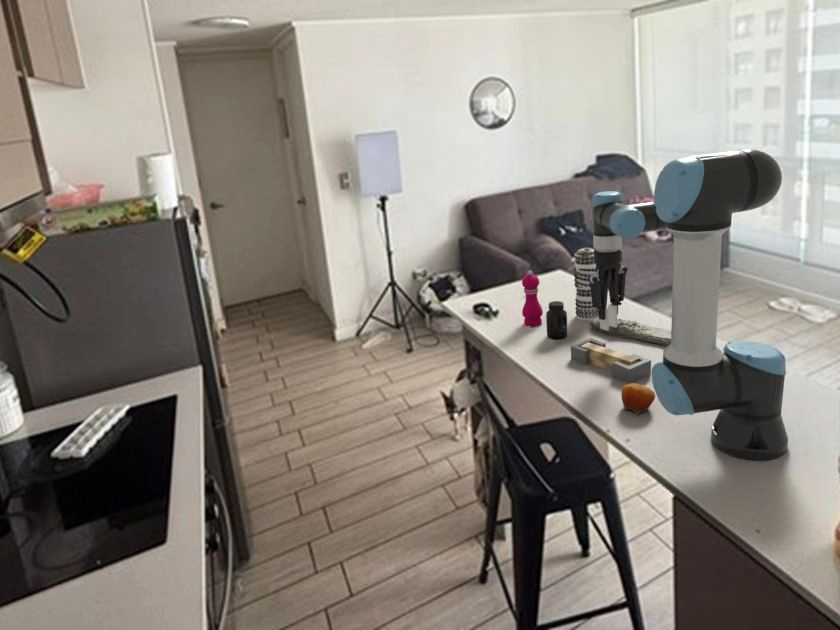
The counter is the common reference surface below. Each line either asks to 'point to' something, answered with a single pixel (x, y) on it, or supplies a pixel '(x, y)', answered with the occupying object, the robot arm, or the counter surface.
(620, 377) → the end caps
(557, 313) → the supplement bottle
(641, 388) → the fruit
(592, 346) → the oak slat
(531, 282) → the pepper mill
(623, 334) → the long grey stone
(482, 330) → the counter surface
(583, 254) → the decorative candle
